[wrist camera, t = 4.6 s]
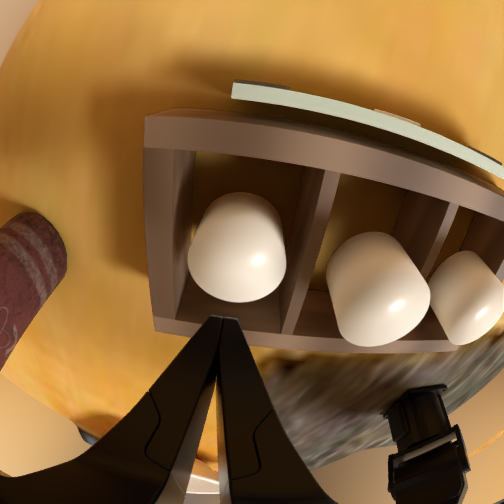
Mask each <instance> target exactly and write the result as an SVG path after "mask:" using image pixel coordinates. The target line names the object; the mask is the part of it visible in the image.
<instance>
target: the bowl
mask: <svg viewBox="0 0 504 504" xmlns="http://www.w3.org/2000/svg"><path fill="white" fill-rule="evenodd" d="M186 493H198V494H220V492H219V473H218V472H216V471H214V470H212V469H211V468H210V467H209V466H208V465H207V464H205V463H204V462H203V461H201V460H198V459H196V458H195V462H194V465H193V469H192V473H191V476H190V480H189V484H188V487H187V491H186Z"/></svg>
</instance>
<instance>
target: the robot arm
mask: <svg viewBox="0 0 504 504" xmlns="http://www.w3.org/2000/svg"><path fill="white" fill-rule="evenodd" d="M216 377H217V379H216ZM215 383H216V414H217V449H218V473H219V492H220V504H338V503H337V502H335V501H334V500H332V499H331V498H330V497H329V496H328V495H327V494H326V493H325V492H324V490H323V489H322V488H321V487H320V486H319V484H318V483H317V481H316V480H315V479H314V477H313V475H312V474H311V473H310V471H309V469H308V468H307V466H306V465H305V463H304V462H303V460H302V459H301V457H300V456H299V454H298V453H297V451H296V450H295V448H294V446H293V444H292V443H291V441H290V439H289V438H288V436H287V434H286V432H285V430H284V428H283V426H282V424H281V422H280V420H279V417H278V415H277V413H276V410H275V409H274V406H273V404H272V401H271V399H270V397H269V394H268V392H267V390H266V387H265V385H264V383H263V380H262V378H261V375H260V373H259V371H258V368H257V366H256V363H255V361H254V358H253V356H252V353H251V351H250V348H249V346H248V344H247V341H246V339H245V336H244V333H243V331H242V328H241V326H240V323H239V321H238V319H237V318H231V317H225V318H224V320H223V317H222V316H216V315H210V316H209V317H208V318H207V319H206V320H205V322H204V323H203V324H202V325H201V327H200V328H199V329H198V330H197V332H196V333H195V334H194V335H193V336H192V338H191V339H190V340H189V341H188V342H187V344H186V345H185V346H184V347H183V349H182V350H181V351H180V352H179V353H178V355H177V356H176V357H175V358H174V360H173V361H172V362H171V363H170V364H169V366H168V367H167V368H166V369H165V370H164V372H163V373H162V374H161V375H160V377H159V378H158V379H157V380H156V381H155V383H154V384H153V385H152V386H151V387H150V389H149V392H148V391H147V392H146V393H145V394H144V396H143V397H142V398H141V399H140V400H139V402H138V403H137V404H136V405H135V406H134V407H133V408H132V409H131V411H130V412H129V413H128V414H127V415H126V416H125V417H124V418H123V419H121V420H120V421H119V422H118V423H117V424H116V425H115V426H114V427H113V428H112V429H111V430H110V431H108V432H107V433H106V434H105V435H104V436H103V437H102V438H101V439H99V440H98V441H97V442H96V443H95V444H94V445H93V446H91V447H90V448H89V449H88V450H87V451H85V452H84V453H83V454H81V455H80V456H78V457H76V458H75V459H72V460H70V461H68V462H65V463H62V464H59V465H56V466H53V467H50V468H47V469H44V470H40V471H37V472H34V473H30V474H27V475H23V476H19V477H11V476H10V475H8V474H6V473H4V472H2V471H1V470H0V504H183V502H184V499H185V495H186V491H187V487H188V484H189V480H190V476H191V473H192V469H193V465H194V462H195V458H196V454H197V450H198V447H199V443H200V439H201V436H202V432H203V428H204V424H205V421H206V417H207V413H208V410H209V406H210V402H211V399H212V395H213V391H214V387H215ZM447 389H448V388H447V386H446V385H444V386H437V387H430V388H422V389H413V390H409V391H407V392H406V393H405V394H404V395H403V396H402V397H401V398H400V399H399V400H398V401H397V402H396V403H395V404H394V405H393V406H392V407H391V408H390V409H389V410H388V411H387V412H386V413H385V414H384V415H383V419H388V420H389V425H390V429H391V434H392V438H393V441H394V442H396V443H397V448H398V453H396V454H391V455H389V459H388V479H389V483H388V492H389V493H391V495H392V497H393V499H394V500H395V501H396V504H462V502H463V499H464V497H465V494H466V492H467V489H468V484H467V479H466V474H465V473H467V472H469V471H471V469H470V464H469V460H468V455H467V451H466V447H465V443H464V440H463V436H462V433H461V430H460V428H459V426H458V424H456V425H454V426H453V427H452V428H451V425H450V422H449V419H448V416H447V413H446V410H445V407H444V404H443V401H442V398H441V395H442V394H443V393H444V392H445V391H446V390H447ZM455 438H457V440H456V441H455V442H453V443H452V441H451V440H453V439H455ZM494 504H504V499H502V500H500V501H498V502H496V503H494Z"/></svg>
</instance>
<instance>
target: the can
mask: <svg viewBox="0 0 504 504" xmlns="http://www.w3.org/2000/svg"><path fill="white" fill-rule="evenodd" d="M66 270H67V253H66V250H65V246H64V243H63V241H62V239H61V237H60V235H59V233H58V232H57V231H56V229H55V228H54V227H53V225H52V224H51V223H50V222H48V221H47V220H46V219H45V218H44V217H42V216H40V215H37V214H35V213H20V214H18V215H16V216H15V217H13V218H12V219H11V220H10V221H8V222H7V223H6V224H5V225H3V226H2V227H1V228H0V371H1V369H2V367H3V366H4V364H5V362H6V360H7V359H8V357H9V355H10V354H11V352H12V351H13V349H14V347H15V346H16V344H17V342H18V341H19V339H20V338H21V336H22V335H23V333H24V332H25V330H26V329H27V327H28V326H29V324H30V323H31V321H32V320H33V318H34V317H35V315H36V314H37V313H38V311H39V310H40V308H41V307H42V306H43V304H44V303H45V301H46V300H47V299H48V297H49V296H50V295H51V293H52V292H53V291H54V289H55V288H56V287H57V286H58V284H59V283H60V282H61V280H62V279H63V278H64V276H65V273H66Z"/></svg>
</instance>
